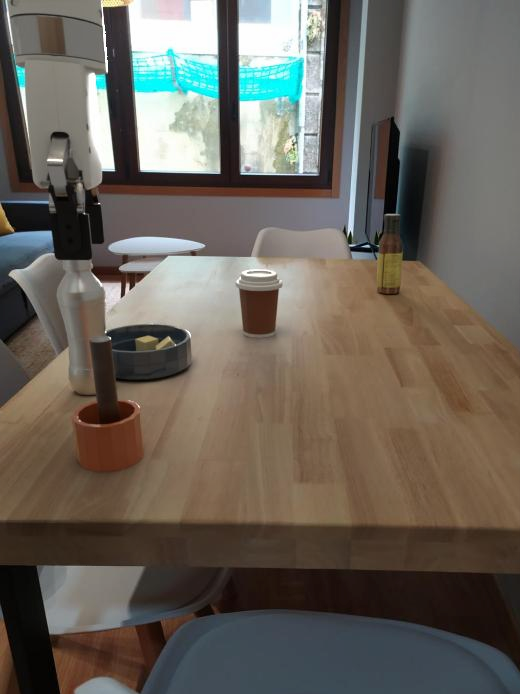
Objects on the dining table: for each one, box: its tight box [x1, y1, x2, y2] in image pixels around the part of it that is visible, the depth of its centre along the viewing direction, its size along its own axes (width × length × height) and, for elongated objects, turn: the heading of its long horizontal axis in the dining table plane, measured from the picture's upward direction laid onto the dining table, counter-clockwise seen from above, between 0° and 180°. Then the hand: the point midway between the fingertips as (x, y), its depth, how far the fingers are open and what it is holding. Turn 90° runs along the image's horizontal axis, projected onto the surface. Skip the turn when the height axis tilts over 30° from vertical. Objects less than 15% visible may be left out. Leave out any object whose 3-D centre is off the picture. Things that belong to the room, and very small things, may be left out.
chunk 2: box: [156, 336, 176, 350], centre depth 91 cm, size 3×3×3 cm
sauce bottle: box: [376, 213, 404, 295], centre depth 140 cm, size 6×6×20 cm
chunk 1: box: [135, 336, 159, 351], centre depth 94 cm, size 3×3×3 cm
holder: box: [71, 398, 145, 473], centre depth 62 cm, size 7×7×6 cm
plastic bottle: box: [56, 258, 116, 396], centre depth 77 cm, size 6×7×20 cm
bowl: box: [106, 323, 193, 381], centre depth 90 cm, size 15×15×5 cm
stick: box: [89, 336, 120, 425], centre depth 60 cm, size 2×2×14 cm
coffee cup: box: [235, 269, 283, 339], centre depth 106 cm, size 9×9×12 cm
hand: (82, 250), depth 54 cm, fingers open, 9 cm apart
